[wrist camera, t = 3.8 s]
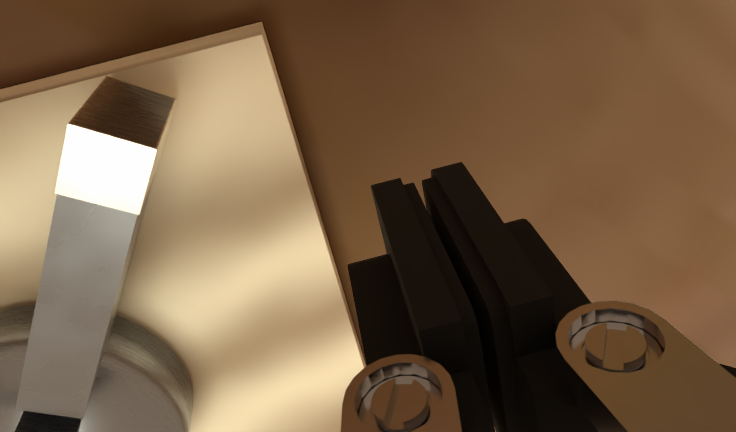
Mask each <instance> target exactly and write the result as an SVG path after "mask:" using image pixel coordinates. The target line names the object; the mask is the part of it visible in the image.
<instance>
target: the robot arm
mask: <svg viewBox="0 0 736 432" xmlns="http://www.w3.org/2000/svg"><path fill="white" fill-rule="evenodd" d="M431 177H432V178H429V179H425V180H422V186H423V192H424V197H425V203H426V208H427V210H426V208H425V206H424V203H423V201H422V199H421V197H420V195H419V193H418V191H417V189H416V187H415V184H414V183H410V184H406V185H403V183H402V181H401V179H400V178H398V179H394V180H390V181H386V182H382V183H379V184H375V185H371V189H372V194H373V198H374V202H375V206H376V210H377V214H378V219H379V223H380V227H381V231H382V235H383V239H384V243H385V247H386V252H387V254H386V255H382V256H378V257H374V258H370V259H366V260H363V261H359V262H355V263H351V264H348V270H349V276H350V281H351V286H352V291H353V296H354V301H355V307H356V312H357V317H358V322H359V327H360V333H361V338H362V343H363V348H364V353H365V358H366V364H367V366H366V367H365V368H364V369H362V370H361V371H360V372H359V373H358V374H357V375H356V376H355V377H354V378H353V379H352V381H351V382H350V384H349V386H348V387H347V389H346V391H345V395H344V399H343V403H342V417H341V432H495V429H496V431H497V432H736V368H733V367H729V366H726V365H722V364H719V363H717V362H716V361H715V360H713V359H712V358H711V357H710V356H709V355H707V354H706V353H705V352H704V351H703V350H701V349H700V348H699V347H698V346H697V345H695V344H694V343H693V342H692V341H691V340H689V339H688V338H687V337H686V336H684V335H683V334H682V333H681V332H680V331H678V330H677V329H676V328H675V327H674V326H672V325H671V324H670V323H669V322H668V321H666V320H665V319H664V318H662V317H661V316H659V315H658V314H656V313H654V312H653V311H651V310H650V309H647V308H644V307H641V306H638V305H636V304H633V303H626V302H619V301H600V302H594V303H591V302H590V301H589V299H588V298H587V297H586V296H585V294H584V293H583V292H582V290H581V289H580V288H579V286H578V285H577V284H576V282H575V281H574V280H573V279H572V277H571V276H570V275H569V273H568V272H567V271H566V269H565V268H564V267H563V265H562V264H561V263H560V262H559V260H558V259H557V258H556V256H555V255H554V254H553V252H552V251H551V250H550V248H549V247H548V246H547V245H546V243H545V242H544V241H543V239H542V238H541V237H540V235H539V234H538V233H537V232H536V230H535V229H534V228H533V226H532V225H531V224H530V223H529V222H528V221H527V220H526V219H519V220H515V221H512V222H508V223H503V221H502V220H501V218H500V217H499V215H498V214H497V212H496V211H495V209H494V208H493V207H492V205H491V204H490V202H489V201H488V199H487V198H486V196H485V195H484V193H483V192H482V191H481V189H480V188H479V186H478V185H477V183H476V182H475V180H474V179H473V177H472V176H471V175H470V173H469V172H468V170H467V169H466V167H465V166H464V164H463V163H462V162H459V163H455V164H452V165H448V166H444V167H440V168H436V169H432V170H431ZM494 426H495V429H494Z"/></svg>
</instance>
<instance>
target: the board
mask: <svg viewBox="0 0 736 432" xmlns="http://www.w3.org/2000/svg"><path fill="white" fill-rule="evenodd" d="M106 76H109V77H112V78H115V79H118V80H121V81H124V82H127V83H131V84H134V85H137V86H140V87H143V88H146V89H149V90H152V91H155V92H159V93H162V94H165V95H168V96H171V97H174V98H177V100H176V104H175V107H174V111H173V115H172V119H171V122H170V126H169V130H168V133H167V137H166V141H165V144H164V148H163V152H162V155H161V158H160V160H159V163H158V166H157V169H156V171H155V175H154V179H153V182H152V186H151V190H150V193H149V197H148V201H147V204H146V208H145V212H144V216H143V219H142V223H141V227H140V230H139V234H138V238H137V242H136V245H135V249H134V253H133V256H132V260H131V264H130V267H129V271H128V275H127V279H126V282H125V286H124V290H123V293H122V297H121V301H120V304H119V308H118V312H117V316H119V317H122V318H125V319H127V320H129V321H131V322H133V323H135V324H137V325H139V326H141V327H143V328H144V329H146V330H148V331H149V332H151V333H152V334H154V335H155V336H157V337H158V338H159V339H160V340H162V341H163V342H164V343H165V344H166V345H167V346H168V347H169V348H170V349H171V350H172V351H173V352H174V353H175V354H176V355H177V357H178V358H179V359H180V361H181V362H182V364H183V365H184V367H185V369H186V371H187V373H188V375H189V378H190V381H191V384H192V389H193V398H194V399H193V411H192V419H191V426H190V432H341V417H342V403H343V399H344V395H345V391H346V389H347V387H348V386H349V384H350V382H351V381H352V379H353V378H354V377H355V376H356V375H357V374H358V373H359V372H360V371H361V370H362V369H364V368H365V367H366V364H365V361H364V357H363V354H362V351H361V347H360V344H359V341H358V337H357V334H356V331H355V328H354V324H353V321H352V318H351V314H350V311H349V308H348V304H347V301H346V298H345V295H344V291H343V288H342V285H341V281H340V278H339V275H338V271H337V268H336V265H335V262H334V258H333V255H332V252H331V248H330V245H329V242H328V238H327V235H326V232H325V229H324V225H323V222H322V219H321V215H320V212H319V209H318V205H317V202H316V199H315V196H314V192H313V189H312V186H311V182H310V179H309V176H308V172H307V169H306V166H305V163H304V159H303V156H302V153H301V149H300V146H299V143H298V139H297V136H296V133H295V130H294V126H293V123H292V120H291V116H290V113H289V110H288V106H287V103H286V100H285V96H284V93H283V90H282V87H281V83H280V80H279V77H278V73H277V70H276V67H275V63H274V60H273V57H272V54H271V50H270V47H269V44H268V40H267V37H266V34H265V30H264V27H263V24H262V22H258V23H255V24H251V25H247V26H243V27H239V28H235V29H231V30H228V31H224V32H220V33H216V34H212V35H208V36H204V37H201V38H197V39H193V40H189V41H185V42H181V43H177V44H174V45H170V46H166V47H162V48H158V49H154V50H150V51H147V52H143V53H139V54H135V55H131V56H127V57H123V58H120V59H116V60H112V61H108V62H104V63H100V64H96V65H93V66H89V67H85V68H81V69H77V70H73V71H69V72H66V73H62V74H58V75H54V76H50V77H46V78H42V79H39V80H35V81H31V82H27V83H23V84H19V85H15V86H12V87H8V88H4V89H0V310H4V309H8V308H12V307H18V306H26V305H35V304H36V300H37V294H38V289H39V284H40V279H41V274H42V269H43V263H44V258H45V253H46V248H47V243H48V238H49V232H50V227H51V222H52V217H53V212H54V207H55V201H56V196H57V194H55V188H56V183H57V177H58V172H59V167H60V162H61V157H62V151H63V146H64V141H65V136H66V130H67V125H68V123H69V121H70V120H71V119H72V118H73V117H74V115H75V114H76V113H77V112H78V110H79V109H80V108H81V107H82V105H83V104H84V103H85V102H86V100H87V99H88V98H89V97H90V96H91V94H92V93H93V92H94V91H95V89H96V88H97V87H98V86H99V84H100V83H101V82H102V81H103V80H104V78H105V77H106Z"/></svg>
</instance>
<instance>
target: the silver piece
mask: <svg viewBox="0 0 736 432" xmlns="http://www.w3.org/2000/svg"><path fill="white" fill-rule="evenodd" d="M176 100H177V98H174V97H171V96H168V95H165V94H162V93H159V92H155V91H152V90H149V89H146V88H143V87H140V86H137V85H134V84H131V83H127V82H124V81H121V80H118V79H115V78H112V77H109V76H106V77H105V78H104V80H103V81H102V82H101V83H100V84H99V86H98V87H97V88H96V89H95V91H94V92H93V93H92V94H91V96H90V97H89V98H88V99H87V100H86V102H85V103H84V104H83V105H82V107H81V108H80V109H79V110H78V112H77V113H76V114H75V115H74V117H73V118H72V119H71V120H70V121H69V123H68V125H67V130H66V136H65V141H64V146H63V151H62V157H61V162H60V167H59V172H58V177H57V183H56V188H55V194H57V196H56V201H55V207H54V212H53V217H52V222H51V227H50V232H49V238H48V243H47V248H46V253H45V258H44V263H43V269H42V274H41V279H40V284H39V289H38V294H37V300H36V304H35V305H26V306H18V307H12V308H8V309H4V310H0V432H190V426H191V419H192V411H193V399H194V398H193V389H192V384H191V381H190V378H189V375H188V373H187V371H186V369H185V367H184V365H183V364H182V362H181V361H180V359H179V358H178V357H177V355H176V354H175V353H174V352H173V351H172V350H171V349H170V348H169V347H168V346H167V345H166V344H165V343H164V342H163V341H162V340H160V339H159V338H158V337H157V336H155V335H154V334H152V333H151V332H149V331H148V330H146V329H144V328H143V327H141V326H139V325H137V324H135V323H133V322H131V321H129V320H127V319H125V318H122V317H119V316H117V312H118V308H119V304H120V301H121V297H122V293H123V290H124V286H125V282H126V279H127V275H128V271H129V267H130V264H131V260H132V256H133V253H134V249H135V245H136V242H137V238H138V234H139V230H140V227H141V223H142V219H143V216H144V212H145V208H146V204H147V201H148V197H149V193H150V190H151V186H152V182H153V179H154V175H155V171H156V169H157V166H158V163H159V160H160V158H161V155H162V152H163V148H164V144H165V141H166V137H167V133H168V130H169V126H170V122H171V119H172V115H173V111H174V107H175V104H176Z"/></svg>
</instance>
